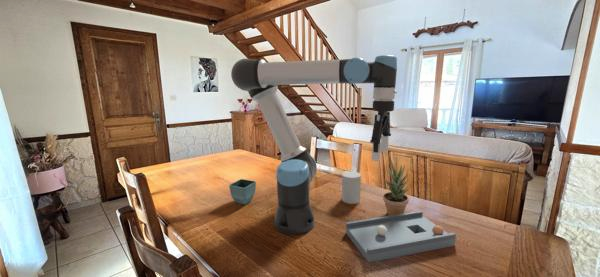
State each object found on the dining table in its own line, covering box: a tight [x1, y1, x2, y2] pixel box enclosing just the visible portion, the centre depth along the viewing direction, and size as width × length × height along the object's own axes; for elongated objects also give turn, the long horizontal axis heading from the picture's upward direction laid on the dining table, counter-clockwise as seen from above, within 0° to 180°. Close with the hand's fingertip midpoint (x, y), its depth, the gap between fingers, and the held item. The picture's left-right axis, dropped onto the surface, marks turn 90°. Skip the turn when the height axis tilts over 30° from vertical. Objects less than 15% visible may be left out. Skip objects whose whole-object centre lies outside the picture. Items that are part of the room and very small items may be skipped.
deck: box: [345, 210, 457, 263], centre depth 84 cm, size 30×16×4 cm, turn 103°
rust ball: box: [432, 224, 445, 236], centre depth 82 cm, size 3×3×3 cm
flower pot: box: [228, 178, 257, 205], centre depth 115 cm, size 9×9×9 cm
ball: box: [377, 225, 387, 236], centre depth 83 cm, size 3×3×3 cm
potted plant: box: [382, 154, 410, 216], centre depth 99 cm, size 10×10×25 cm
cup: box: [341, 171, 362, 205], centre depth 114 cm, size 8×8×12 cm
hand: (380, 156), depth 97 cm, fingers open, 13 cm apart
